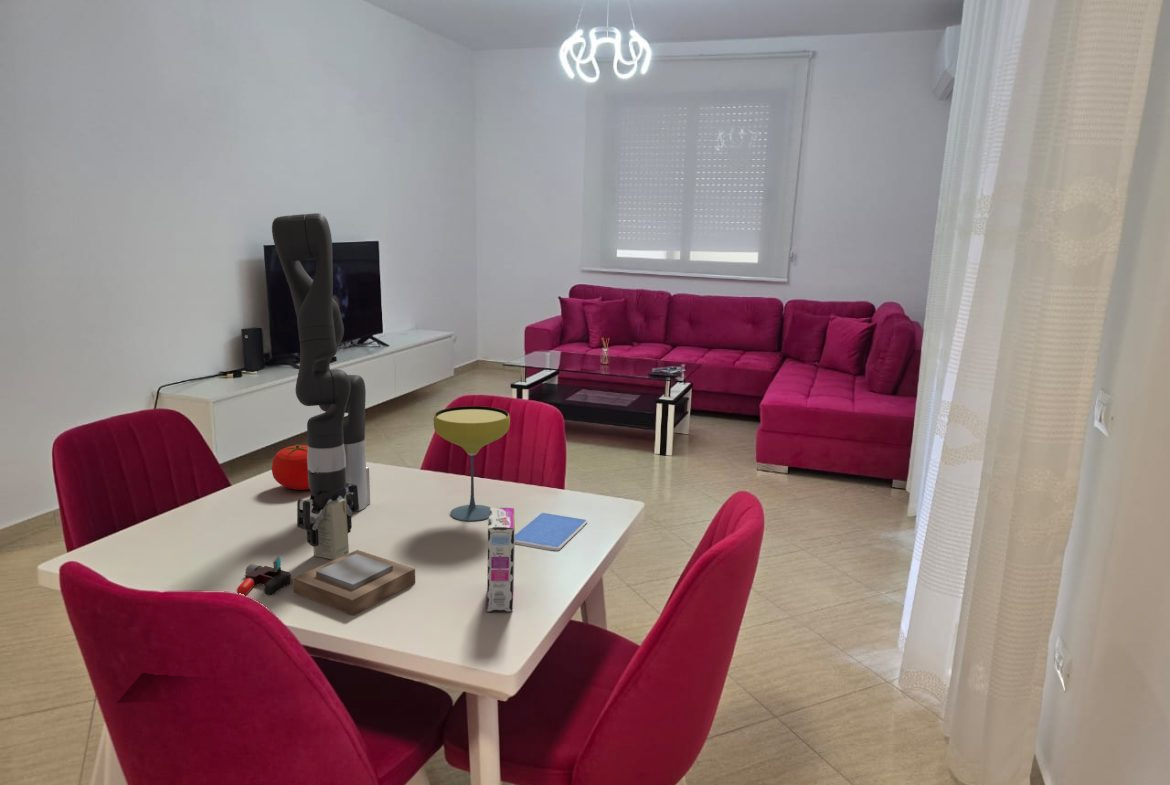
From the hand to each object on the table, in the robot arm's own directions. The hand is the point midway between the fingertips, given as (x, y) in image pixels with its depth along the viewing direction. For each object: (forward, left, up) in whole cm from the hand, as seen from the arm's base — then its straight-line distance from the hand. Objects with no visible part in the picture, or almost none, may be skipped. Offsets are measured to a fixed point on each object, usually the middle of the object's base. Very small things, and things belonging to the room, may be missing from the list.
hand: (330, 538), depth 164 cm
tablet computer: (-37, +31, -4) cm, 49 cm away
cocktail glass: (-36, +9, -4) cm, 37 cm away
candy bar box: (-4, +42, -4) cm, 42 cm away
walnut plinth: (+8, +16, -4) cm, 18 cm away
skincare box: (0, 0, -4) cm, 4 cm away
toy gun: (+18, 0, -4) cm, 18 cm away
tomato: (-25, -40, -4) cm, 47 cm away
